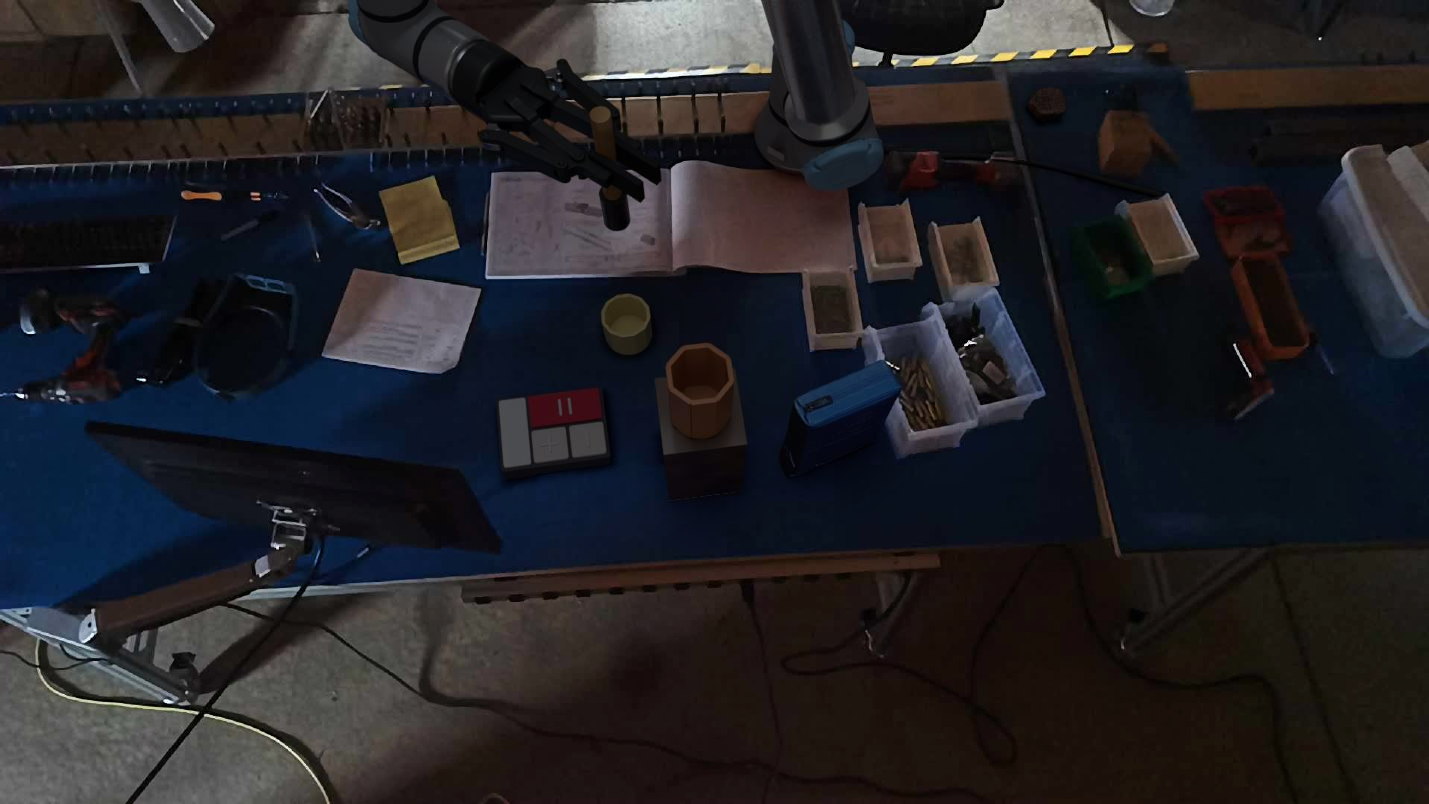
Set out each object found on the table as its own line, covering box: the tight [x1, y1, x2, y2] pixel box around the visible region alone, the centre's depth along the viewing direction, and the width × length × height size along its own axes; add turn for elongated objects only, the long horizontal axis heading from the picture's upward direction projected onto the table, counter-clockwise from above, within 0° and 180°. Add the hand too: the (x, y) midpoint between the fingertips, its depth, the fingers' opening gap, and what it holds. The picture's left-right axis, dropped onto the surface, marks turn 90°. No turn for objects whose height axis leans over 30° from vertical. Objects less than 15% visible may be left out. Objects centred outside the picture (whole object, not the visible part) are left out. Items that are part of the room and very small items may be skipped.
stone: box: [1026, 86, 1067, 122], centre depth 144 cm, size 7×7×3 cm
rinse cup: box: [600, 293, 653, 356], centre depth 125 cm, size 7×7×6 cm
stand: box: [653, 368, 749, 504], centre depth 110 cm, size 10×10×20 cm
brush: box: [590, 106, 631, 232], centre depth 87 cm, size 3×3×17 cm
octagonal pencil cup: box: [664, 342, 735, 439], centre depth 96 cm, size 7×7×11 cm
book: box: [778, 359, 903, 478], centre depth 112 cm, size 14×5×20 cm, turn 115°
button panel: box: [495, 385, 612, 480], centre depth 119 cm, size 11×4×15 cm
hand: (650, 183), depth 84 cm, fingers closed on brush, 2 cm apart
